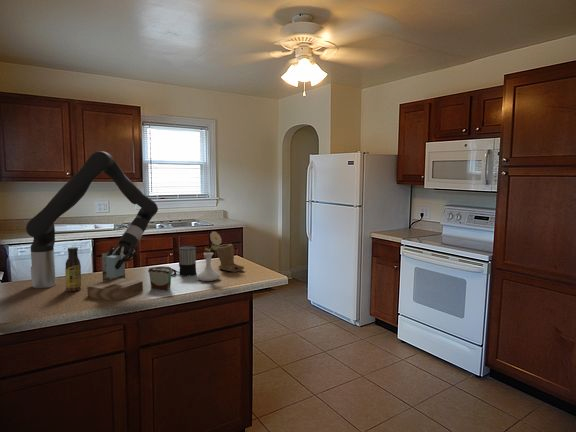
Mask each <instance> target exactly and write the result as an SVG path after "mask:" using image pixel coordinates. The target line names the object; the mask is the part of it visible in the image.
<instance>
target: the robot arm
mask: <svg viewBox="0 0 576 432" xmlns="http://www.w3.org/2000/svg"><path fill="white" fill-rule="evenodd" d="M102 172H103V173H104V174H106V176H108V177H109V178H110V179H111V180H112V181H113V182H114V183H115V185H116V186H117V188H118V190H120V193H122V195H123V196H124V197H125V198H126V199H127V200H128V201H129V202H130V203H131V204H132V205H136V206H138V207H140V209H139V210H138V212H137V214H136V216H135V218H134V219H133V220H132V221H131V223H130V224H129V226H128V227H127V228H126V229H125V231H124V232H123V234H122V235H121V237H120V239H119V240H118V245H117V246H110V248H109V250H108V251H107V252H108V255H107V256H110V255H116V254H117V255H120V256H121V257H120V260H118V262H117V264H116V265H115V268H116V269H119V268H120V267H121V265H122V264H123V263H124V262H125V263H126V262H127V263H128V262H129V261H130V260H131V259H132V257H134V256H135V254H136V253H137V251H136V250H135V248H136V247H137V245H138V243H140V240H141V238H142V237H143V235H144V233H145V231H146V230H147V228H148V226H149V223H150V222H151V220H152V219H153V217H154V216H155V215H156V214H157V212H158V211H159V208H158V207H159V206H158V205H157V203H156V202H155V201H154V200H153V199H152V198H150V197H148V195H145V194H144V193H143V192H142V191H141V190H140V189H139V188H138V187H137V186H136V185H135V184H134V182H133V181H131V180H130V178H129V177H128V176H127V175H126V174H125V172H124V171H122V168H120V167H119V165H118V164H117V162H116V160H115V159H114V158H113V156H112V154H110V153H108V152H106V151H103V150H102V151H100V150H99V151H98V150H97V151H95V152H93V153H91V155H90V156H89V157H88V159H87V160H86V161H85V163H84V164H83V165H82V166H81V168H80V169H79V170H78V171H77V172H76V173H75V174H74V175H73V176H72V177H71V178H70V179H69V180H68V181H66V183H65V184H64V185H63V186H62V187H61V188H60V189H59V190H58V191H57V192H56V193H55V195H54V196H53V197H52V198H51V199H50V201H49V202H48V203H47V205H45V206H44V208H42V209H41V211H39V212H38V213H37V214H36V215H35V216H33V217H32V218H31V219H30V220H29V221H28V222H27V223H26V226H25V228H26V229H25V230H26V234H28V236H30V237H32V238H33V240H32V243H31V245H30V258H31V263H30V264H31V266H30V273H31V274H30V275H31V278H30V279H31V286H32V288H34V289H45V288H50V287H53V286H56V266H55V249H54V247H55V243H56V229H55V227H56V226H55V222H56V220H57V219H58V218H60V217H61V216H62V215H64V214H65V213H66V212H68V211H69V210H71V209H72V208H74V206H76V205H77V203H79V201H80V200H81V199H82V198H83V197H84V196H85V194H86V193H87V191H88V189H89V187H90V186H91V184H92V182H93V181H94V180H95V179H96V178H97V177H98V176H99V175H100V174H101V173H102ZM105 266H106V265H105Z"/></svg>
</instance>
